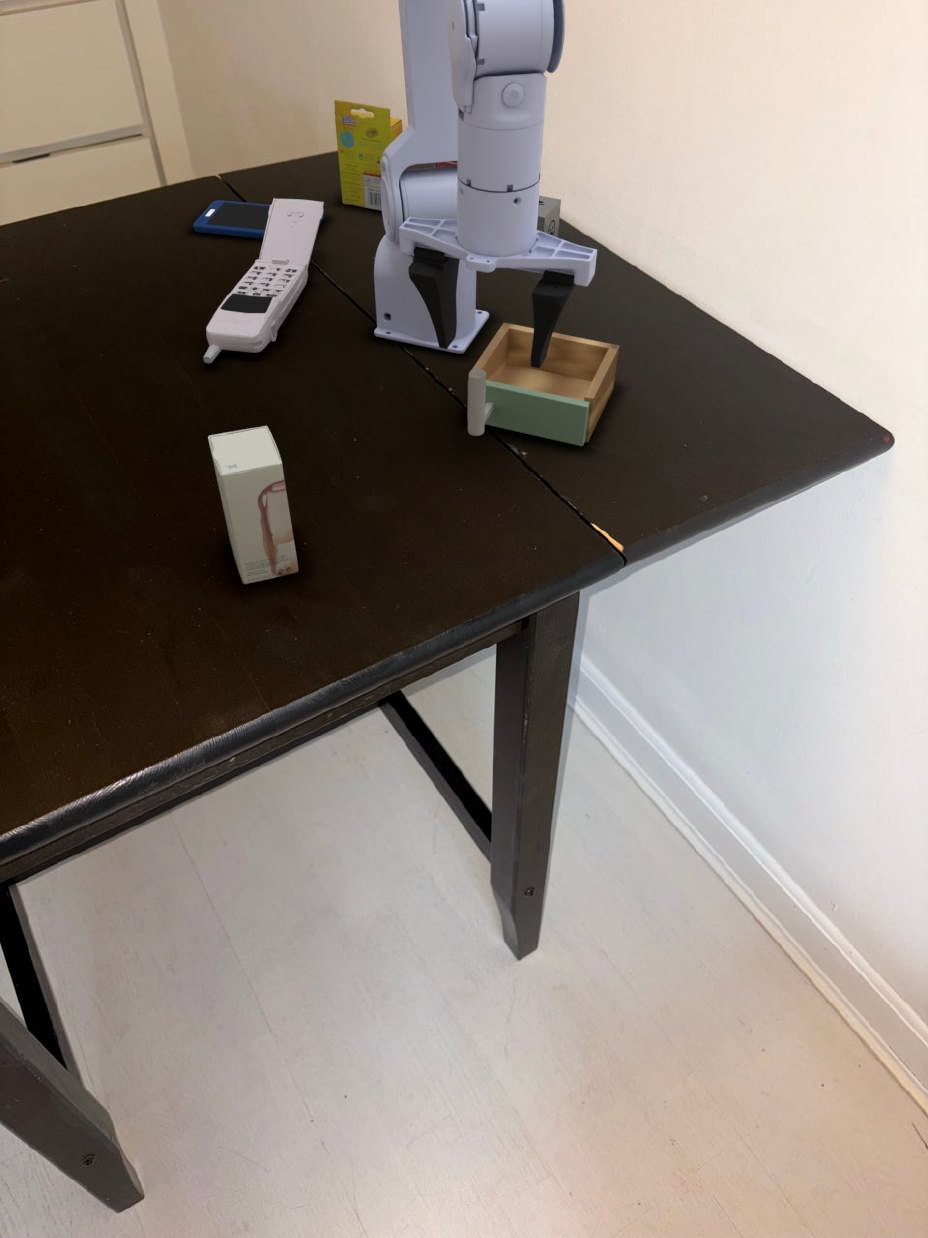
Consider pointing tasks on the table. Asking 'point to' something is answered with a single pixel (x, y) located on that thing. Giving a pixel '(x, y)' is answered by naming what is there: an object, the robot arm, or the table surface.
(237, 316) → the mobile phone
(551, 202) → the dice cube
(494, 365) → the box
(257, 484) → the white product carton
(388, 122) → the crayon box
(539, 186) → the robot arm
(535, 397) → the cubby door
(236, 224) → the cell phone
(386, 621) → the table surface
